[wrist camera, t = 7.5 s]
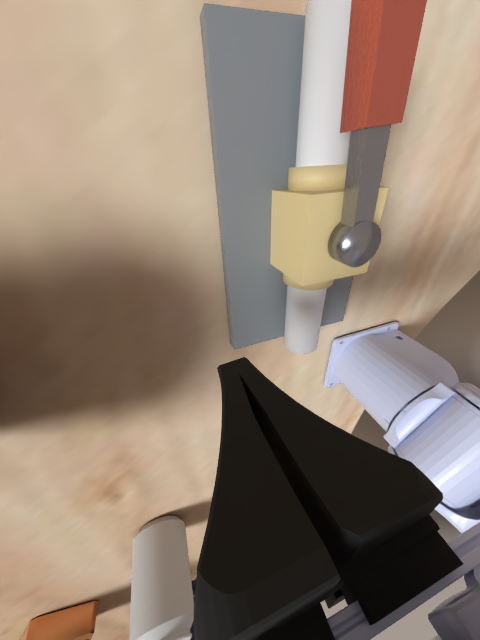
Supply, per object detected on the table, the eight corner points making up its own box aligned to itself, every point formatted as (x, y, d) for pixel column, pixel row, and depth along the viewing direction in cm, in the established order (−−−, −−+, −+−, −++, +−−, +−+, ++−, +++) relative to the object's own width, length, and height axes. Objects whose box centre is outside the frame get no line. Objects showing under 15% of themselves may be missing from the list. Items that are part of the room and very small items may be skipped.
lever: (356, 254, 15) (377, 262, 13) (324, 263, 14) (342, 272, 13) (398, -8, 9) (442, -40, 7) (345, -8, 8) (382, -42, 7)
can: (126, 528, 33) (118, 673, 23) (179, 506, 35) (193, 632, 25) (140, 544, 37) (138, 674, 27) (187, 524, 39) (201, 639, 29)
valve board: (394, 36, 14) (508, -26, 10) (336, 315, 25) (377, 346, 21) (200, 16, 11) (236, -90, 7) (230, 343, 22) (251, 385, 18)
